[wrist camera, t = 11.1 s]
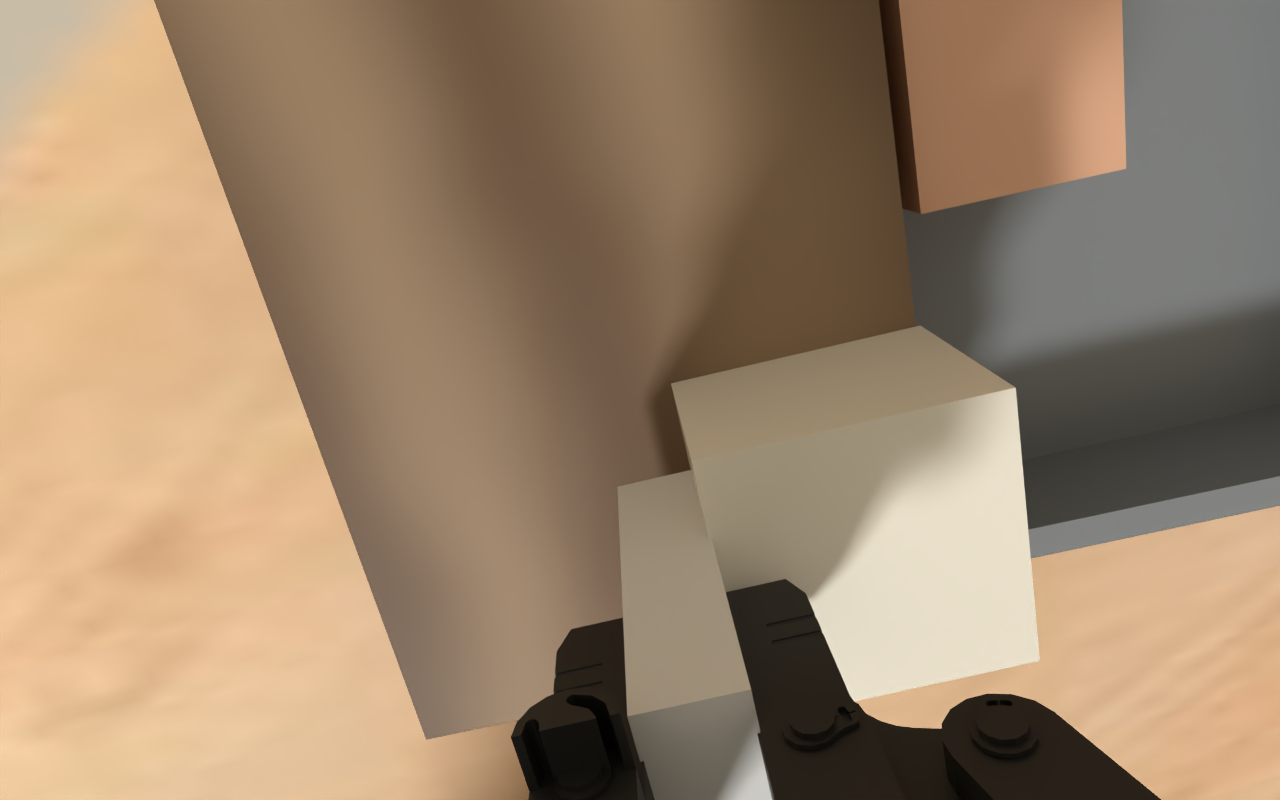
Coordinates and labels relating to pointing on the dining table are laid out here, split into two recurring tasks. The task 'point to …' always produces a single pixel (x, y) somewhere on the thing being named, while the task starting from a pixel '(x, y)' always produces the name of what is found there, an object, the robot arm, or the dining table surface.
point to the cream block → (874, 502)
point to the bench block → (536, 271)
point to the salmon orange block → (1002, 95)
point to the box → (1137, 291)
